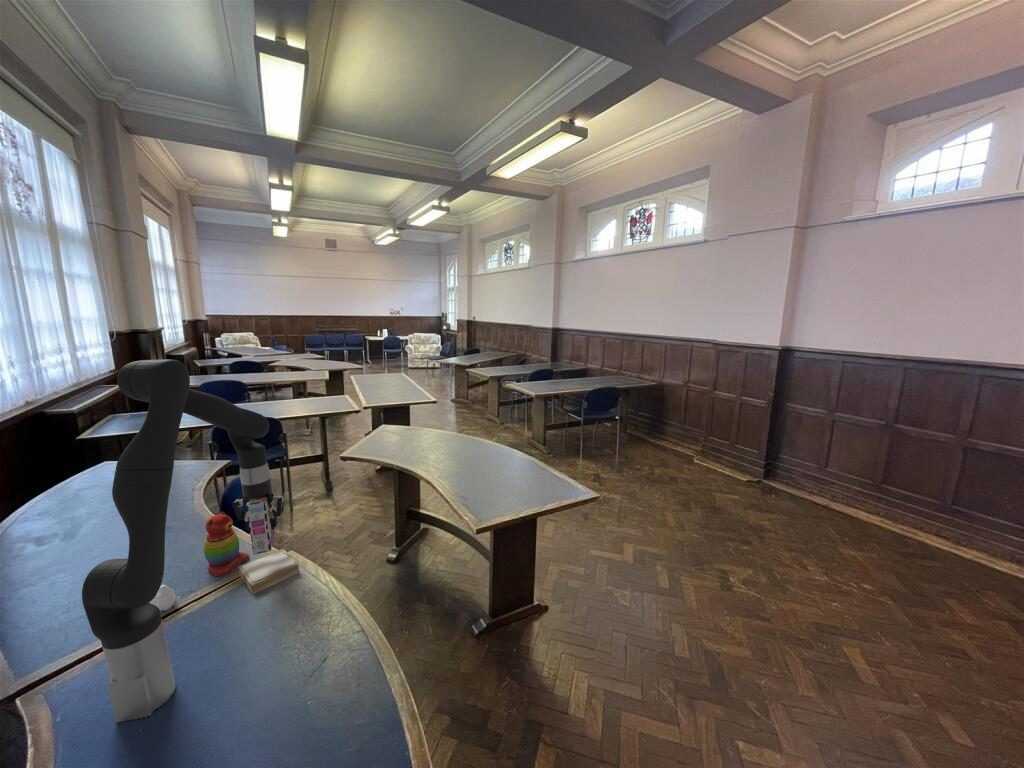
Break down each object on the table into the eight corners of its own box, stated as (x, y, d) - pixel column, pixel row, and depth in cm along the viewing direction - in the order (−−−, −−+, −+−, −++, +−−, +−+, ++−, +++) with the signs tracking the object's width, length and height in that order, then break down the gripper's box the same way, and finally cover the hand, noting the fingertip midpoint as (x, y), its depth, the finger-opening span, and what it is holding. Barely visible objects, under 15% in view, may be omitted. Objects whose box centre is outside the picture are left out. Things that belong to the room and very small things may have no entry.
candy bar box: (272, 551, 121) (265, 501, 118) (252, 555, 119) (245, 505, 116) (276, 532, 131) (269, 486, 128) (258, 536, 129) (251, 489, 126)
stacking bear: (224, 577, 126) (215, 526, 122) (197, 573, 128) (188, 522, 124) (252, 556, 136) (245, 508, 133) (227, 553, 138) (219, 506, 135)
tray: (299, 572, 128) (298, 563, 127) (253, 594, 118) (251, 584, 118) (284, 556, 136) (282, 547, 136) (239, 575, 127) (238, 566, 126)
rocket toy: (158, 618, 110) (152, 593, 108) (151, 610, 113) (146, 585, 111) (182, 606, 114) (177, 581, 112) (175, 598, 117) (170, 574, 115)
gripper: (222, 486, 116) (231, 538, 119) (277, 481, 119) (283, 533, 122) (235, 475, 123) (242, 525, 126) (285, 471, 126) (292, 520, 129)
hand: (262, 529), depth 124 cm, fingers closed on candy bar box, 5 cm apart
